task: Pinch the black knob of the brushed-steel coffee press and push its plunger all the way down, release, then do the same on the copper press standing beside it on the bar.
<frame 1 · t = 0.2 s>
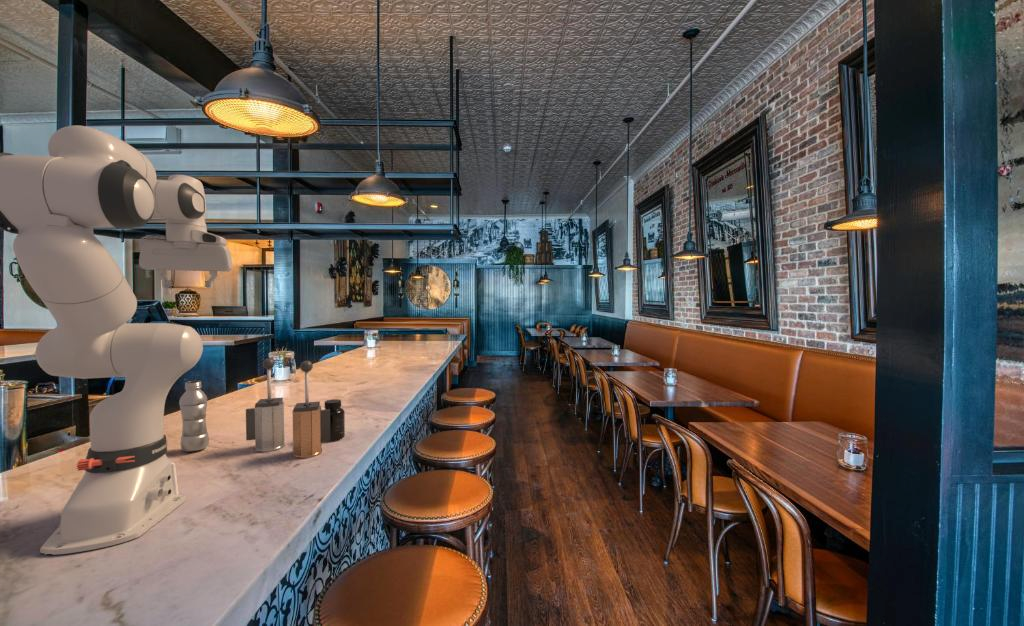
hand: (188, 287, 112), 47 cm above the countertop, fingers open, 8 cm apart
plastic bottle: (195, 450, 117), on the countertop
copper press: (307, 453, 115), on the countertop
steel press: (270, 447, 120), on the countertop
steel plunger: (269, 382, 119), point 19 cm above the countertop, slide at 0.0 cm
supplement bottle: (333, 439, 127), on the countertop
grey knobbed rod: (306, 386, 114), point 19 cm above the countertop, slide at 0.0 cm
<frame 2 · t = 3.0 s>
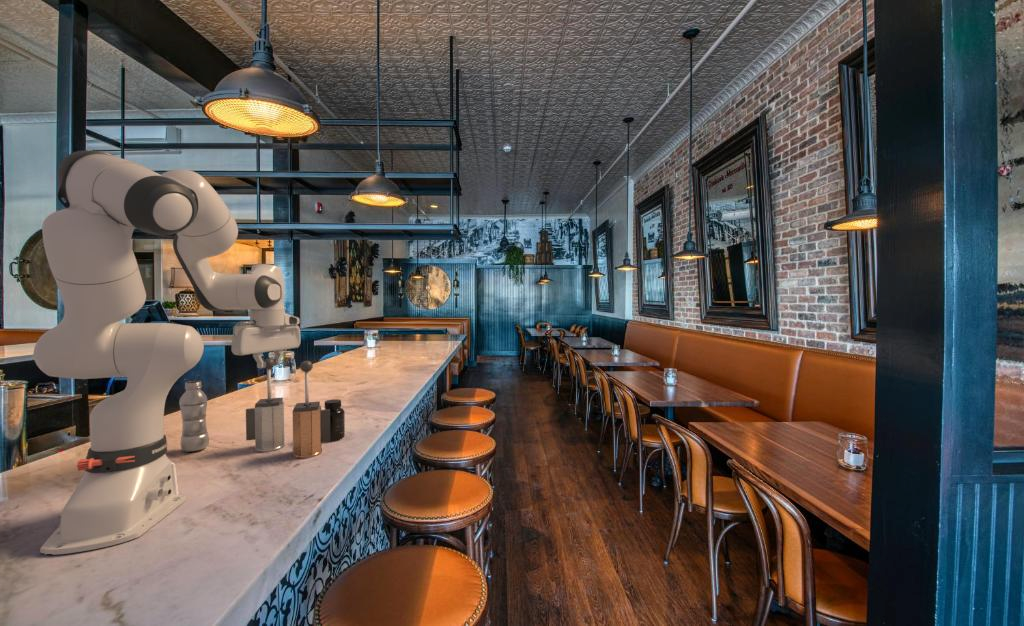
hand: (268, 366, 119), 24 cm above the countertop, fingers closed on steel plunger, 3 cm apart
steel plunger: (269, 382, 119), point 19 cm above the countertop, slide at 0.0 cm, touching gripper
everything else where it was.
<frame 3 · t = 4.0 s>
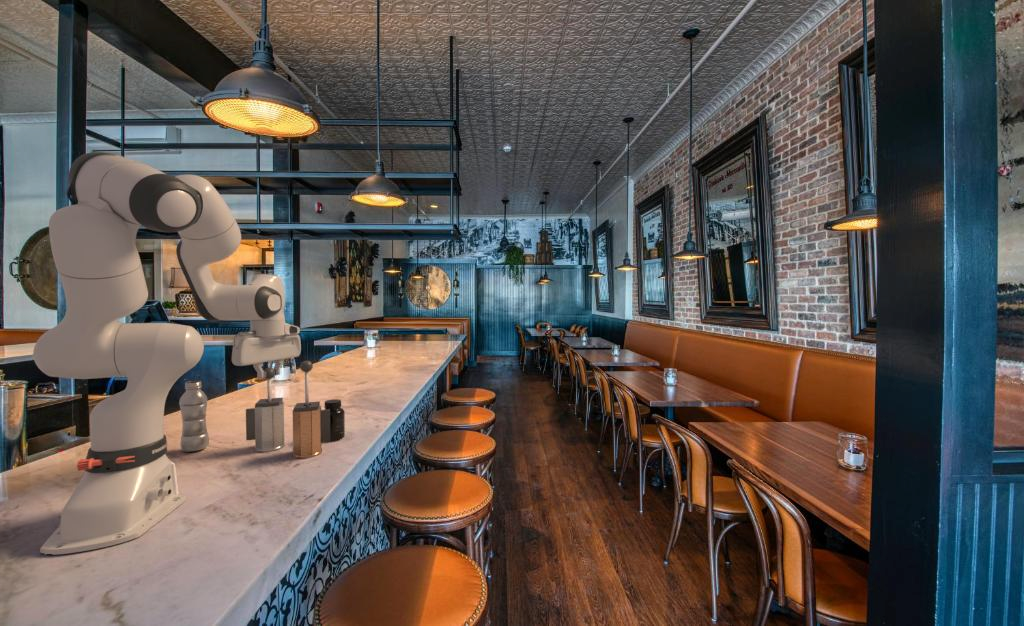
hand: (269, 376, 119), 21 cm above the countertop, fingers closed on steel plunger, 3 cm apart
steel plunger: (269, 392, 119), point 16 cm above the countertop, slide at 2.9 cm, touching gripper
everything else where it was.
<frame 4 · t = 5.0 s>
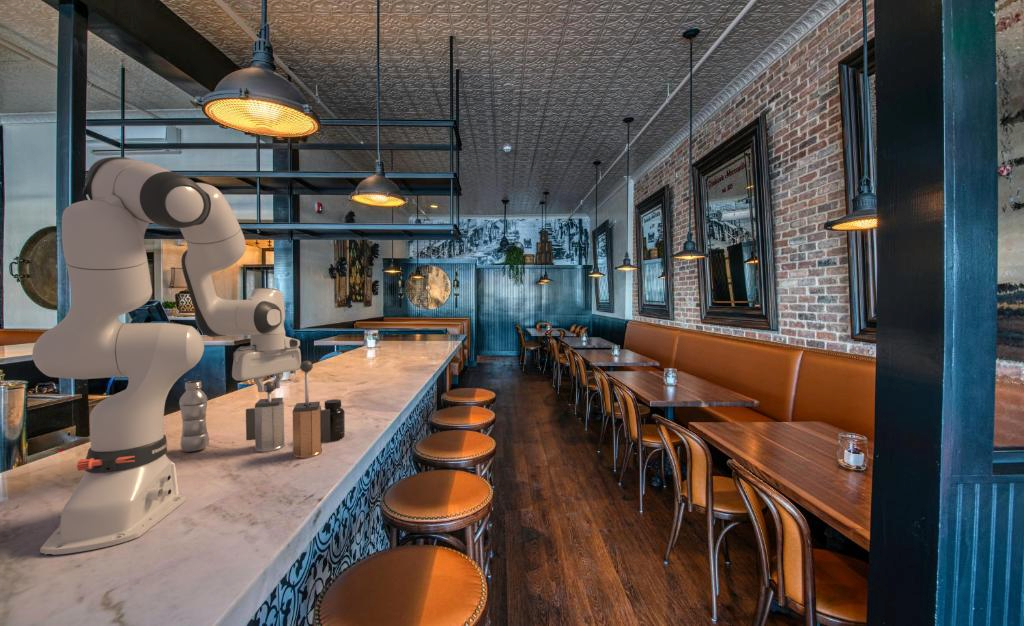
hand: (269, 390, 119), 17 cm above the countertop, fingers closed on steel plunger, 3 cm apart
steel plunger: (269, 406, 119), point 12 cm above the countertop, slide at 6.9 cm, touching gripper
everything else where it was.
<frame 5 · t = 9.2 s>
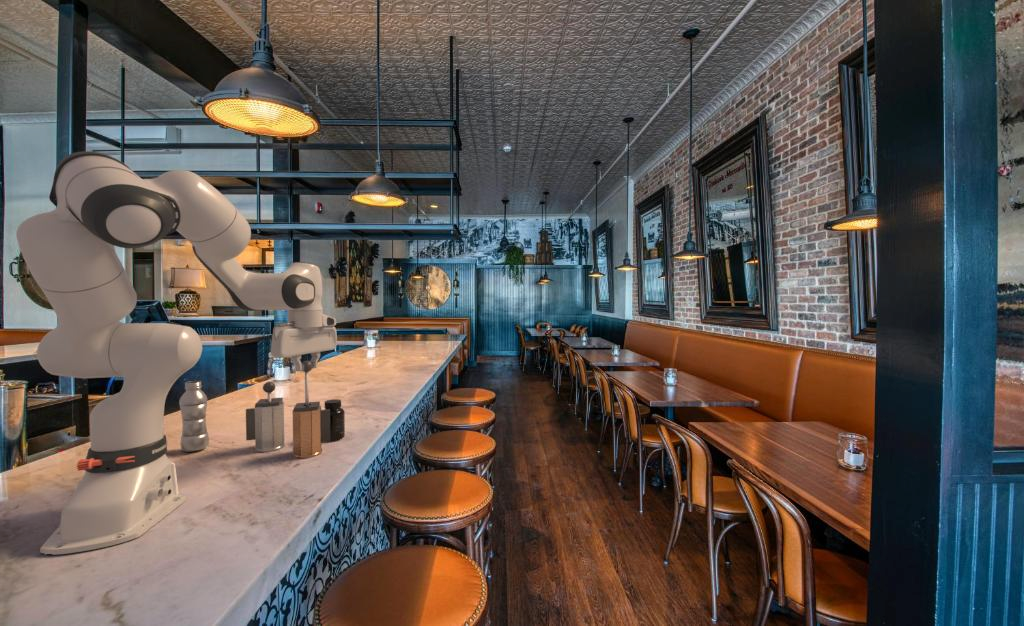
hand: (306, 369, 114), 24 cm above the countertop, fingers closed on grey knobbed rod, 3 cm apart
steel plunger: (269, 406, 119), point 12 cm above the countertop, slide at 7.0 cm
grey knobbed rod: (306, 386, 114), point 19 cm above the countertop, slide at 0.0 cm, touching gripper
everything else where it was.
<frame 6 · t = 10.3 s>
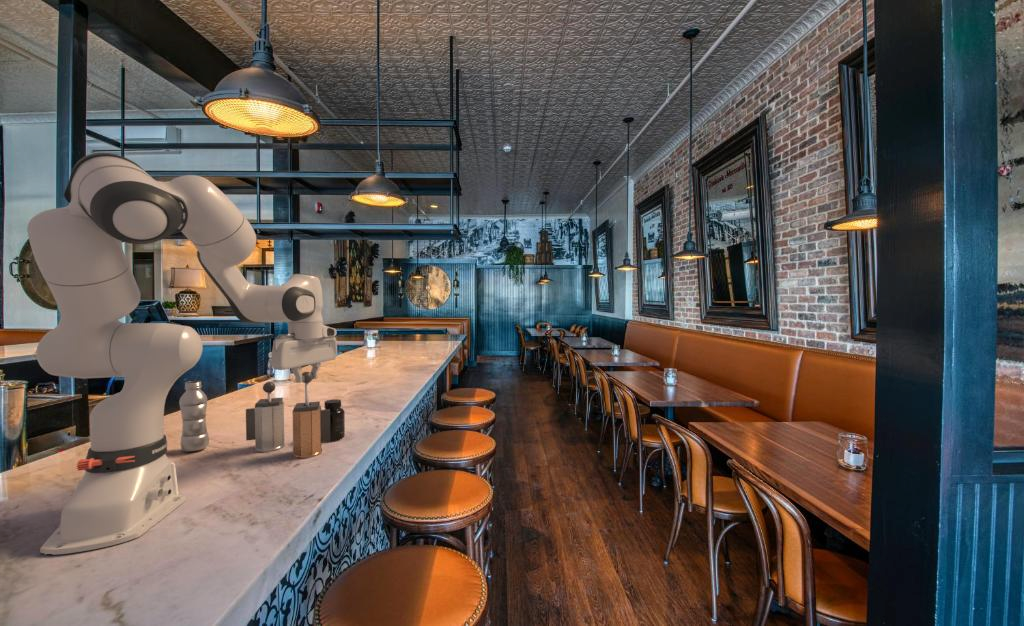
hand: (306, 380, 114), 21 cm above the countertop, fingers closed on grey knobbed rod, 3 cm apart
grey knobbed rod: (306, 397, 114), point 16 cm above the countertop, slide at 3.1 cm, touching gripper
everything else where it was.
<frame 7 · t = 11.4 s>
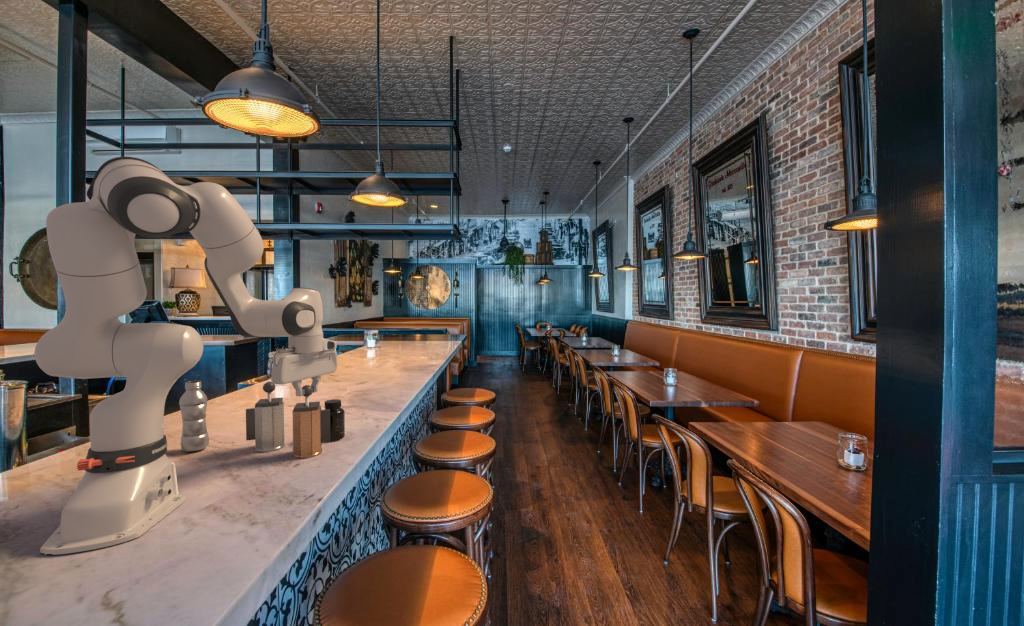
hand: (306, 393, 114), 17 cm above the countertop, fingers closed on grey knobbed rod, 3 cm apart
grey knobbed rod: (307, 410, 115), point 12 cm above the countertop, slide at 7.0 cm, touching gripper
everything else where it was.
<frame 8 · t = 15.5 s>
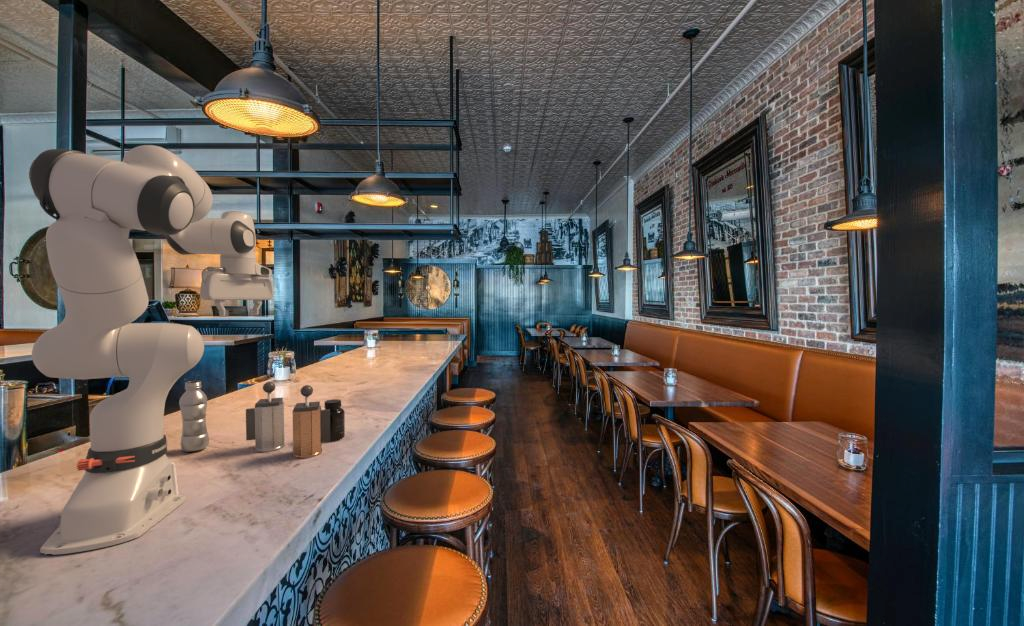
hand: (239, 315, 119), 39 cm above the countertop, fingers open, 8 cm apart
grey knobbed rod: (307, 410, 115), point 12 cm above the countertop, slide at 7.0 cm
everything else where it was.
at the end: steel plunger slide at 7.0 cm; grey knobbed rod slide at 7.0 cm; the gripper is holding nothing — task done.
